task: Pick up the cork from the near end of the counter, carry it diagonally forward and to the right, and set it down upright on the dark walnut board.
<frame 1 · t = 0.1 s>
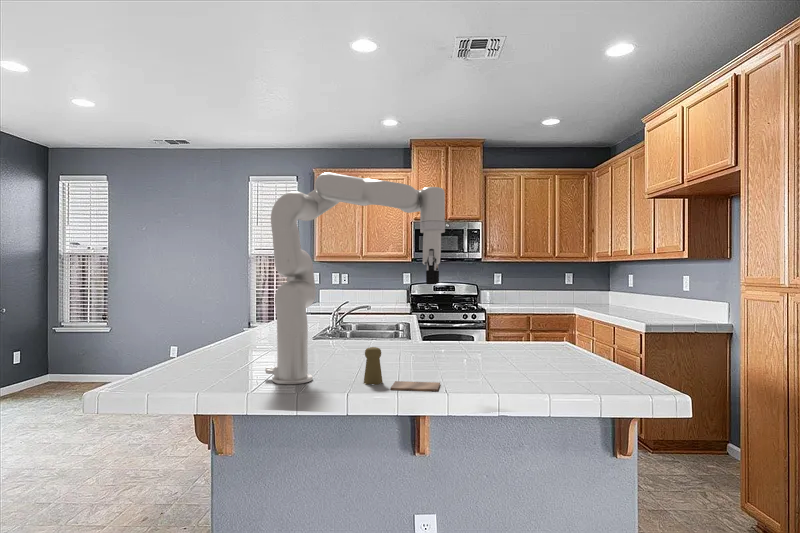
hand: (432, 283, 162), 31 cm above the countertop, tool pointing down, fingers open, 9 cm apart
cork: (373, 383, 166), on the countertop
walnut board: (415, 387, 159), on the countertop
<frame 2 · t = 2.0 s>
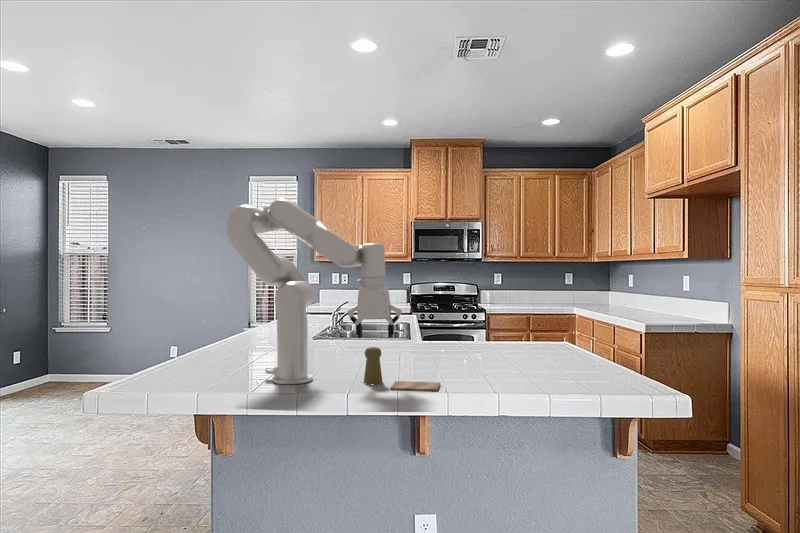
hand: (375, 337, 166), 14 cm above the countertop, tool pointing down, fingers open, 9 cm apart
nothing on the countertop moved.
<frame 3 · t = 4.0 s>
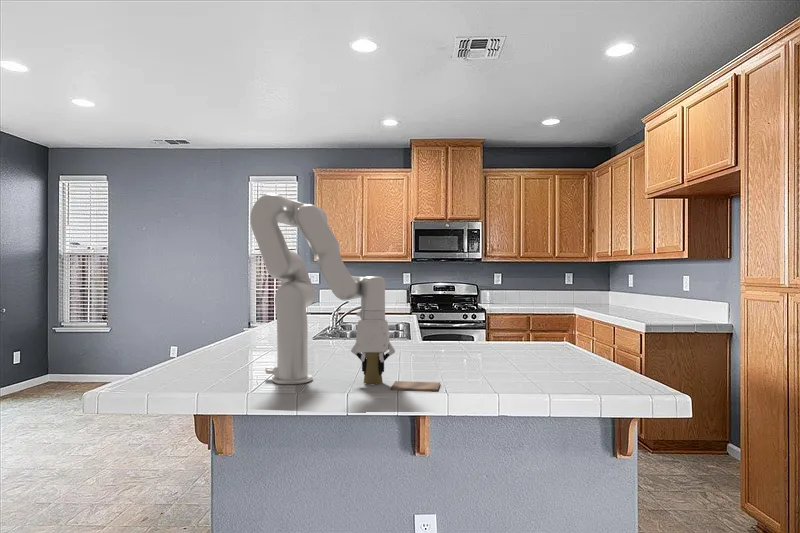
hand: (373, 373, 166), 3 cm above the countertop, tool pointing down, fingers closed on cork, 4 cm apart
cork: (373, 383, 166), on the countertop, touching gripper
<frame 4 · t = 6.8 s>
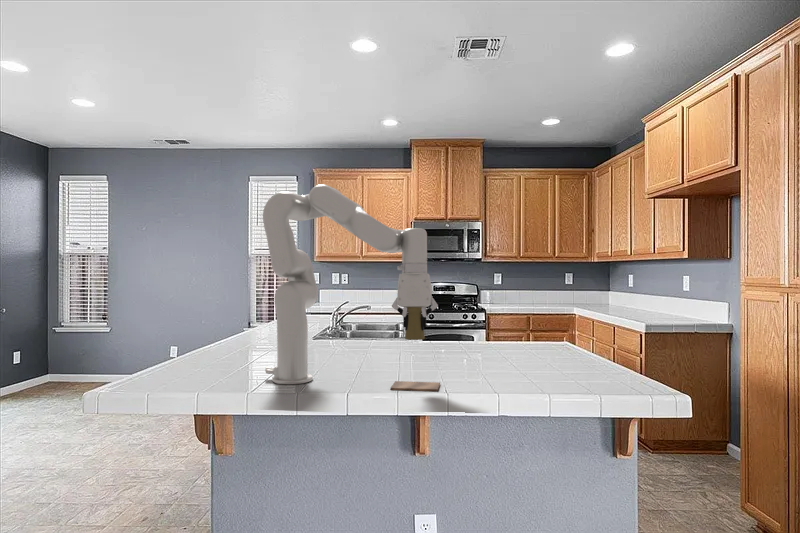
hand: (414, 329, 160), 17 cm above the countertop, tool pointing down, fingers closed on cork, 4 cm apart
cork: (414, 339, 160), point 14 cm above the countertop, touching gripper
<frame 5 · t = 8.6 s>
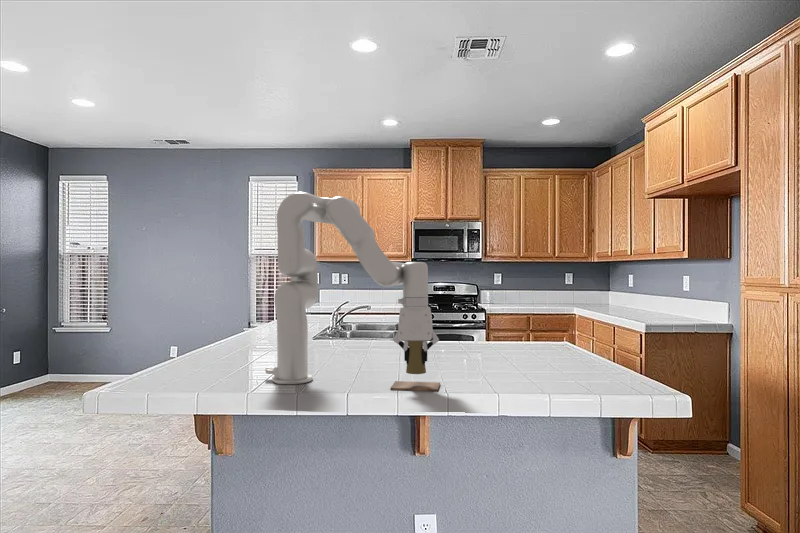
hand: (415, 362, 159), 7 cm above the countertop, tool pointing down, fingers closed on cork, 4 cm apart
cork: (416, 372, 159), point 4 cm above the countertop, touching gripper
when the fingers open (5 cm above the countertop, at t = 9.8 s): cork drops 2 cm, resting on walnut board.
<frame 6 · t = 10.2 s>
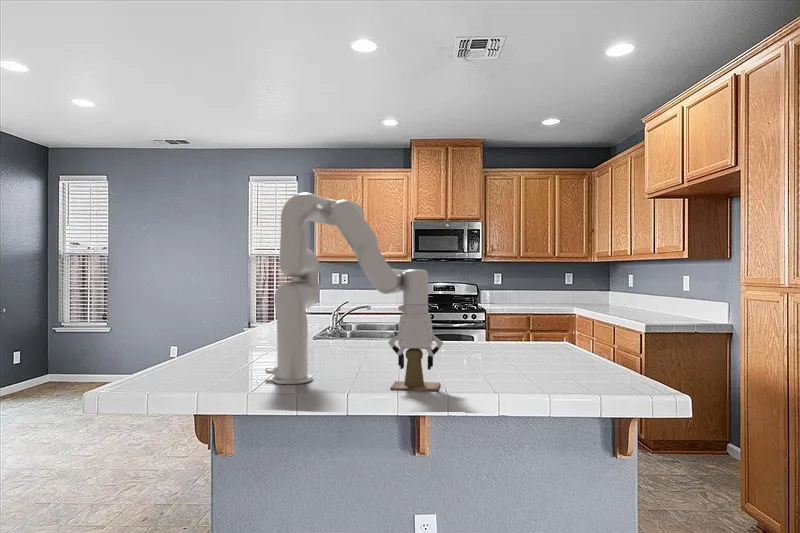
hand: (415, 368, 159), 6 cm above the countertop, tool pointing down, fingers open, 7 cm apart
cork: (414, 385, 160), resting on walnut board
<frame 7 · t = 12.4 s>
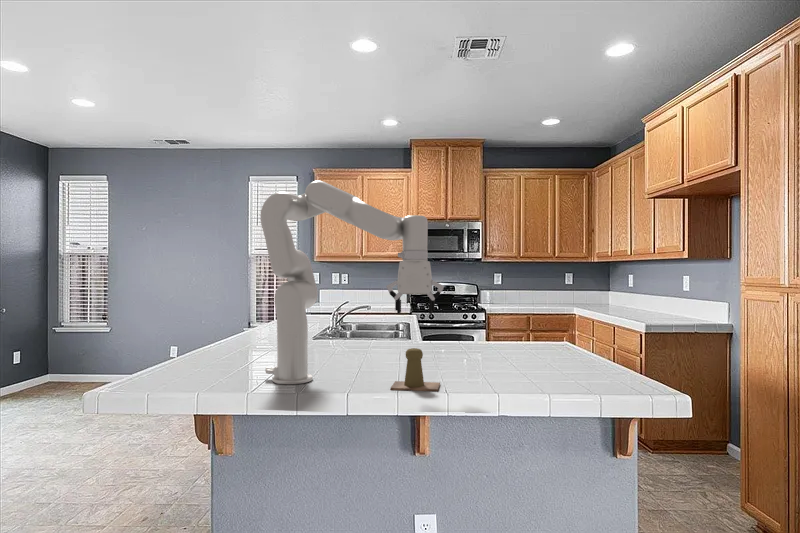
hand: (414, 313, 160), 22 cm above the countertop, tool pointing down, fingers open, 9 cm apart
nothing on the countertop moved.
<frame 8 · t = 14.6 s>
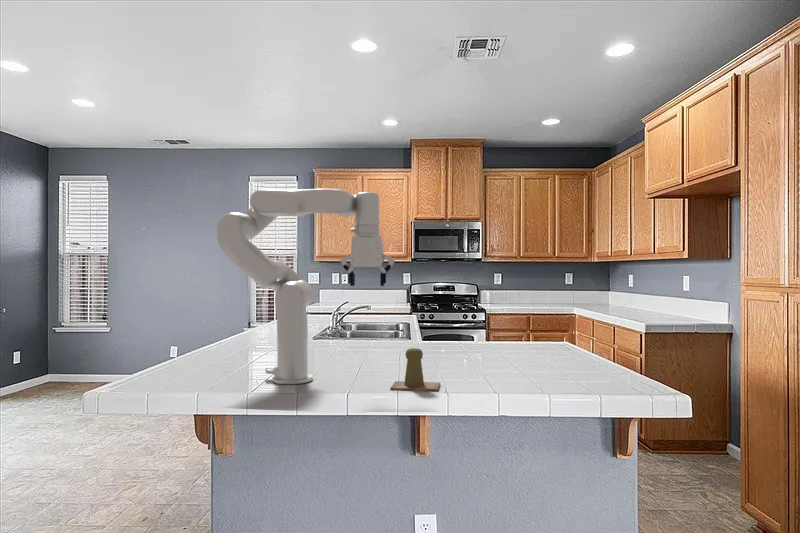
hand: (367, 285, 167), 30 cm above the countertop, tool pointing down, fingers open, 9 cm apart
nothing on the countertop moved.
at the end: cork inside the target area on the walnut board (0.5 cm from its centre), point 0.4 cm above the walnut board's base; cork tilted 0°; the gripper is holding nothing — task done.
